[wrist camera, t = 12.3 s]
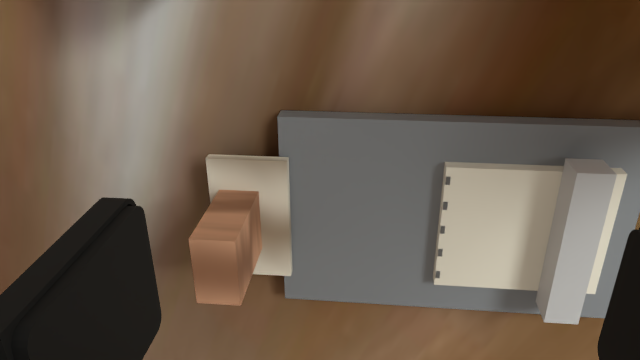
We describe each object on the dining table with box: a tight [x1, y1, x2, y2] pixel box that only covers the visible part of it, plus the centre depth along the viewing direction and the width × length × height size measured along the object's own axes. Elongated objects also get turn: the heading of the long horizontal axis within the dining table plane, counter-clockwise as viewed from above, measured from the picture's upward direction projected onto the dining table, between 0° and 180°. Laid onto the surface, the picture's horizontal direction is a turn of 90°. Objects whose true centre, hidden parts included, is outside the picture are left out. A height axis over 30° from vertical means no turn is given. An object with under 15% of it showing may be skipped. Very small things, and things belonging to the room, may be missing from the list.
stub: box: [189, 154, 292, 306], centre depth 38 cm, size 10×6×8 cm, turn 0°
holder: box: [277, 110, 640, 324], centre depth 39 cm, size 16×26×5 cm, turn 90°
